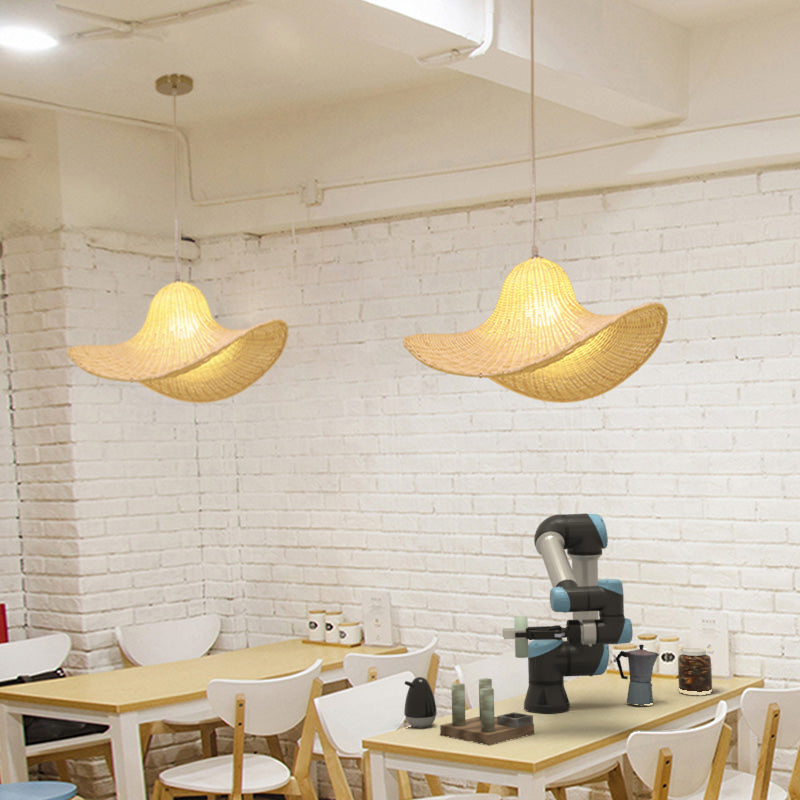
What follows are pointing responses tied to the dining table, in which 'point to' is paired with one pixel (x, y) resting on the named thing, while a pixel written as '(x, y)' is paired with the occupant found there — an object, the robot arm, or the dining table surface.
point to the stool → (484, 718)
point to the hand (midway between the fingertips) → (503, 633)
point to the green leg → (521, 644)
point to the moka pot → (639, 675)
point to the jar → (694, 670)
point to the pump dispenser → (420, 703)
